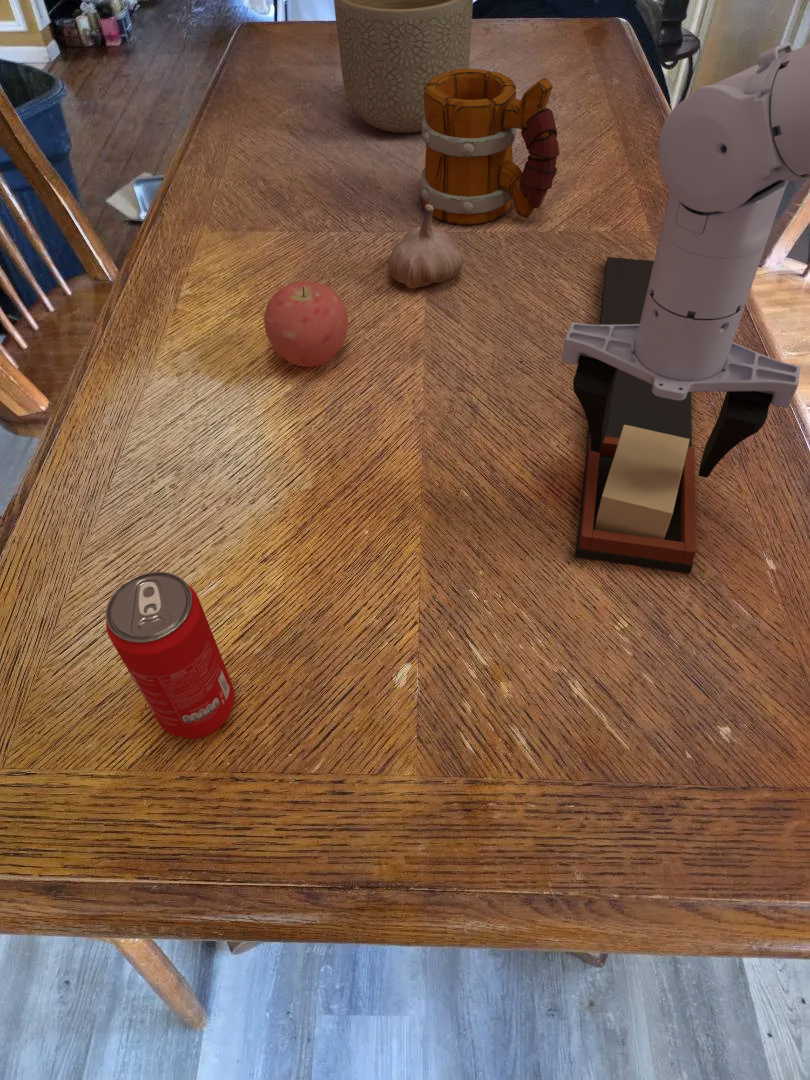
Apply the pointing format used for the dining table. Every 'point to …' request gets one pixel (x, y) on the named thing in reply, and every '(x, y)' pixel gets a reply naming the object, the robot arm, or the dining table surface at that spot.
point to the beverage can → (171, 653)
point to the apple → (306, 323)
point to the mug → (485, 146)
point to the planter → (399, 55)
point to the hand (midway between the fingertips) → (650, 455)
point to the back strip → (647, 412)
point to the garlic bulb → (425, 255)
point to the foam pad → (642, 483)
